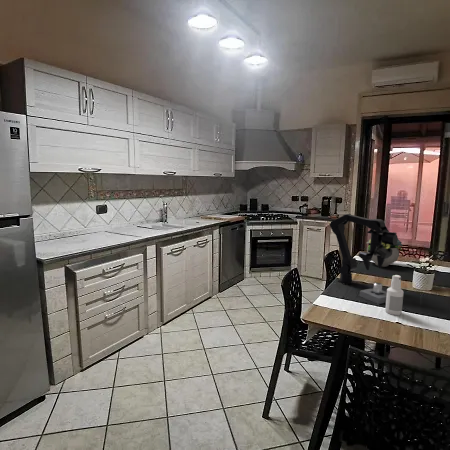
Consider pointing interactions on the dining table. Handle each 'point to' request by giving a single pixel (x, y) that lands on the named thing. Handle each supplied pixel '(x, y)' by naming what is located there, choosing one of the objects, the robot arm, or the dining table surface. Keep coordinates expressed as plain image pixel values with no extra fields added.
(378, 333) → the dining table surface
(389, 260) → the flower arrangement
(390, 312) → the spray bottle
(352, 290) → the dining table surface
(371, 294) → the socket
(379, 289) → the peg
